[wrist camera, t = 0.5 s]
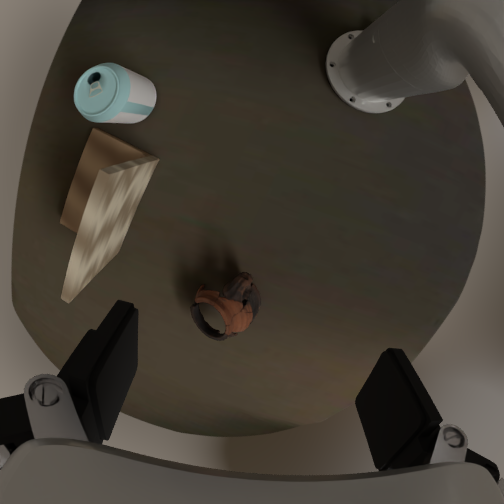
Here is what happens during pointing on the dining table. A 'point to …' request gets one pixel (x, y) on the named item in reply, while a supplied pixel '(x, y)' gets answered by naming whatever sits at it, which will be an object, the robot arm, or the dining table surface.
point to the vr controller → (229, 306)
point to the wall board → (102, 204)
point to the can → (114, 95)
